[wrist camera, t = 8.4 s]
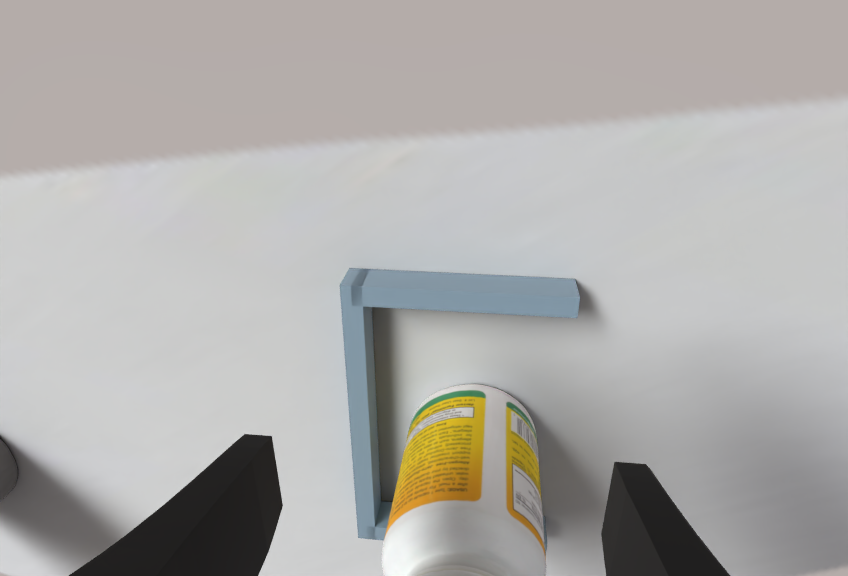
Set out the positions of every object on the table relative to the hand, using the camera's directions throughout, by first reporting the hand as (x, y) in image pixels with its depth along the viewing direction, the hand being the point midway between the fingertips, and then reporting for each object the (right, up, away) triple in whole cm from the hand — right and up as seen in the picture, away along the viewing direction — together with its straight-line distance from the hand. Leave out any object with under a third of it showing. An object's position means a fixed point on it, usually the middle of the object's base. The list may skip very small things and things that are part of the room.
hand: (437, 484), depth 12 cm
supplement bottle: (+2, -2, +13) cm, 13 cm away
